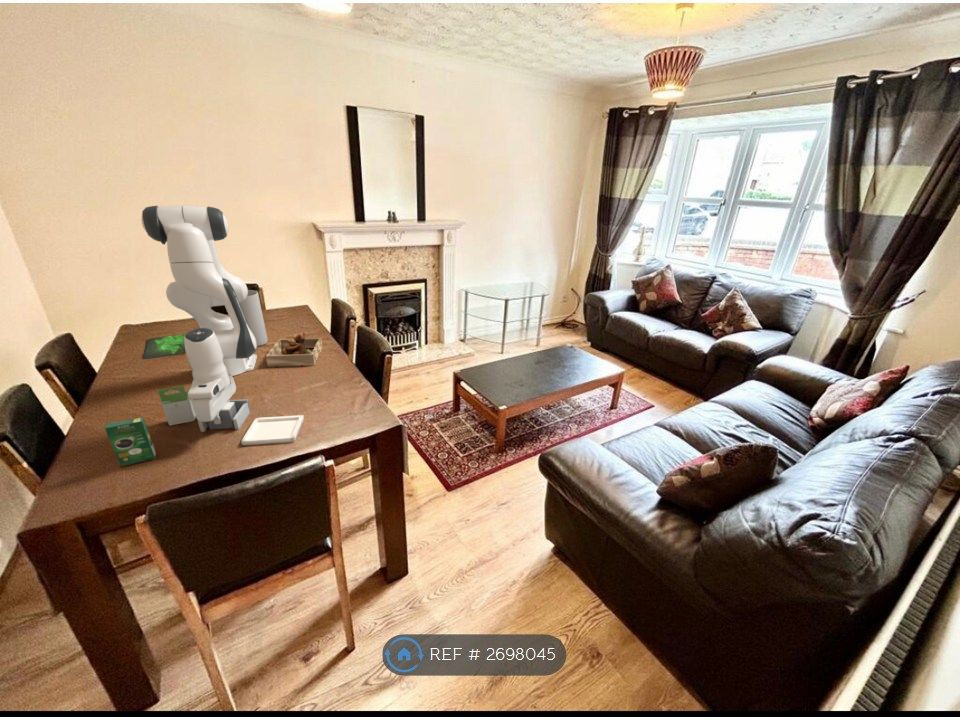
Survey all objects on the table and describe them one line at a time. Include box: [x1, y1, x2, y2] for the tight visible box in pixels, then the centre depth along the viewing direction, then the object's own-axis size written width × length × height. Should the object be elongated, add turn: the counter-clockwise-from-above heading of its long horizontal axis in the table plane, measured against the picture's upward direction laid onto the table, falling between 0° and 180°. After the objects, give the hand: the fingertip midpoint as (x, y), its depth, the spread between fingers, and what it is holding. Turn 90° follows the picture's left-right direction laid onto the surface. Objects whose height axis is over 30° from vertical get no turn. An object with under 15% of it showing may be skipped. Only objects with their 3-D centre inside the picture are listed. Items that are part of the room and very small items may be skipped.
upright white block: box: [208, 402, 237, 430], centre depth 125 cm, size 4×7×7 cm, turn 100°
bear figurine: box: [280, 332, 313, 355], centre depth 173 cm, size 14×15×12 cm
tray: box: [240, 414, 305, 446], centre depth 124 cm, size 13×15×2 cm
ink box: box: [156, 385, 196, 427], centre depth 125 cm, size 7×4×13 cm, turn 117°
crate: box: [265, 337, 324, 368], centre depth 175 cm, size 20×19×5 cm
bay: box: [197, 398, 251, 433], centre depth 127 cm, size 11×11×5 cm
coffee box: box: [104, 416, 157, 467], centre depth 107 cm, size 8×3×13 cm, turn 120°
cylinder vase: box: [239, 289, 269, 348], centre depth 183 cm, size 12×12×25 cm
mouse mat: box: [142, 333, 186, 360], centre depth 183 cm, size 27×22×1 cm
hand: (222, 417), depth 125 cm, fingers closed on upright white block, 4 cm apart
